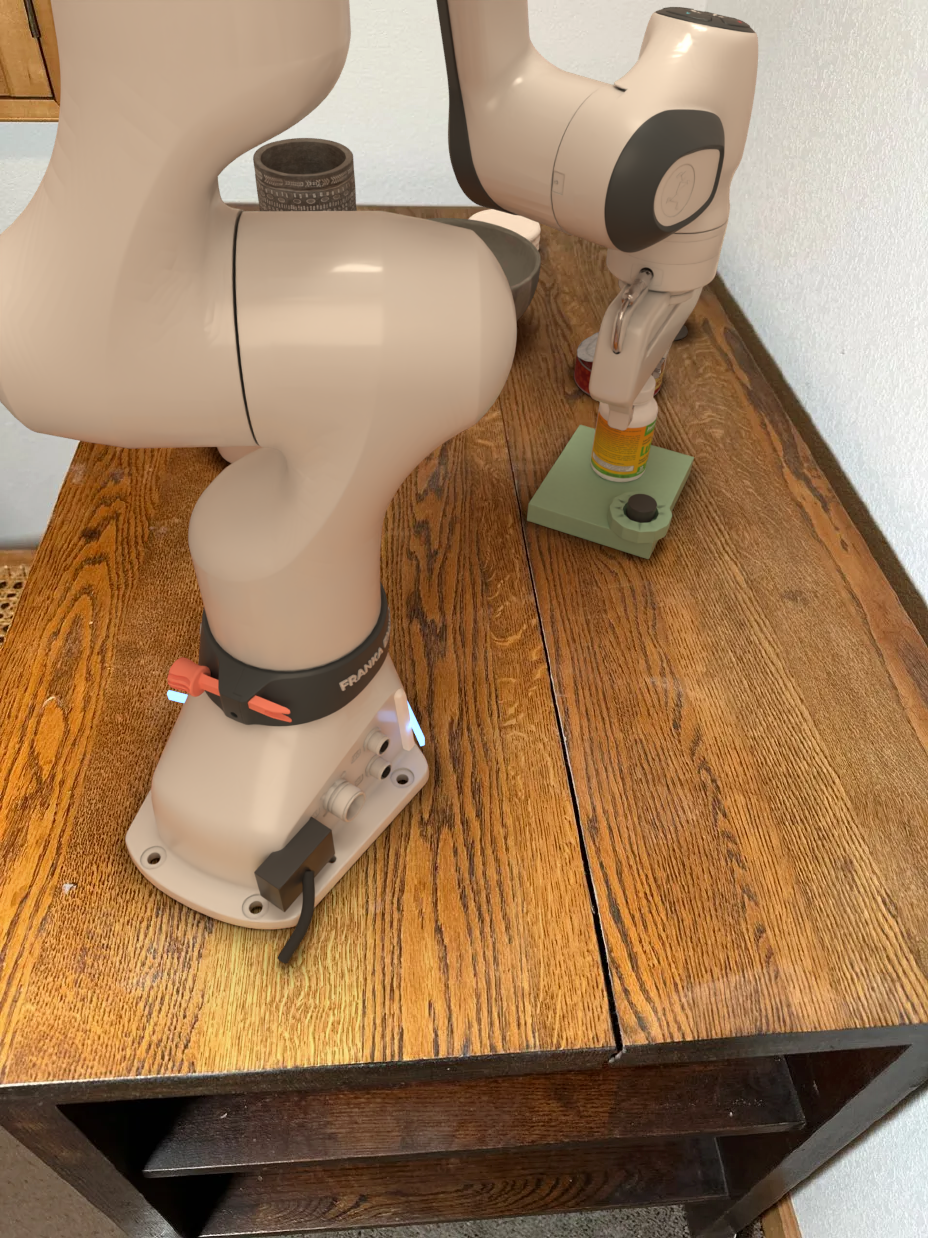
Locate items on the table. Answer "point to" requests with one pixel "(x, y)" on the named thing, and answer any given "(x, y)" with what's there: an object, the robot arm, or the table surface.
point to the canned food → (586, 361)
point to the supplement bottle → (625, 439)
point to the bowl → (508, 257)
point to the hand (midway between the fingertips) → (636, 398)
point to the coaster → (511, 224)
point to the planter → (305, 176)
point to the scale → (608, 497)
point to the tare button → (641, 508)
